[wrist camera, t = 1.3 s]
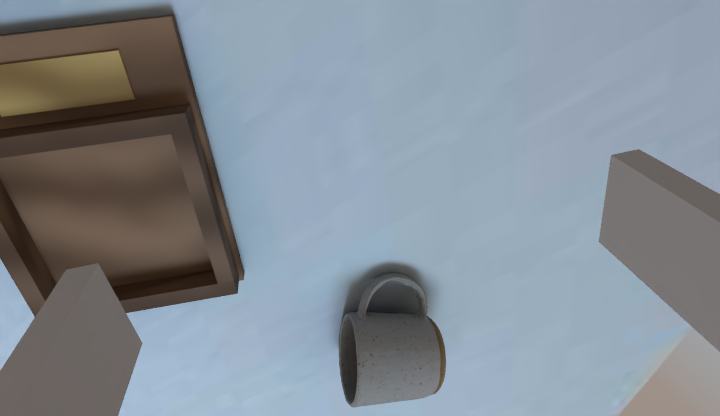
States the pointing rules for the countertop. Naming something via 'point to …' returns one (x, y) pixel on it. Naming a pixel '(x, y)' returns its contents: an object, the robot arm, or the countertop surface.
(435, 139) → the countertop surface
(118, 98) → the framed wooden board
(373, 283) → the ceramic mug
